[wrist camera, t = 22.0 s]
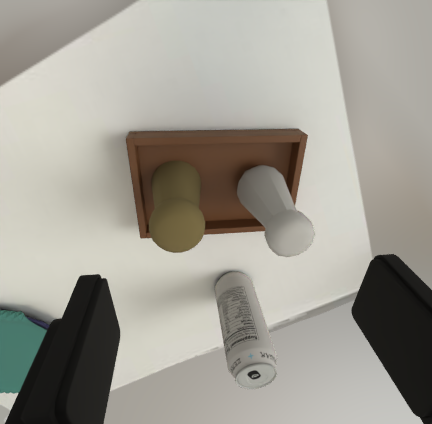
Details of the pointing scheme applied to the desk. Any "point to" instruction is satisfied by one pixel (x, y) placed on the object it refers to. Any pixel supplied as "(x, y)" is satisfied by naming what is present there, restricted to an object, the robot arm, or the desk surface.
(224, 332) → the energy drink can
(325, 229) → the desk surface
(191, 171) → the pepper shaker
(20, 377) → the cutlery set
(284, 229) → the salt shaker
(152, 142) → the tray
